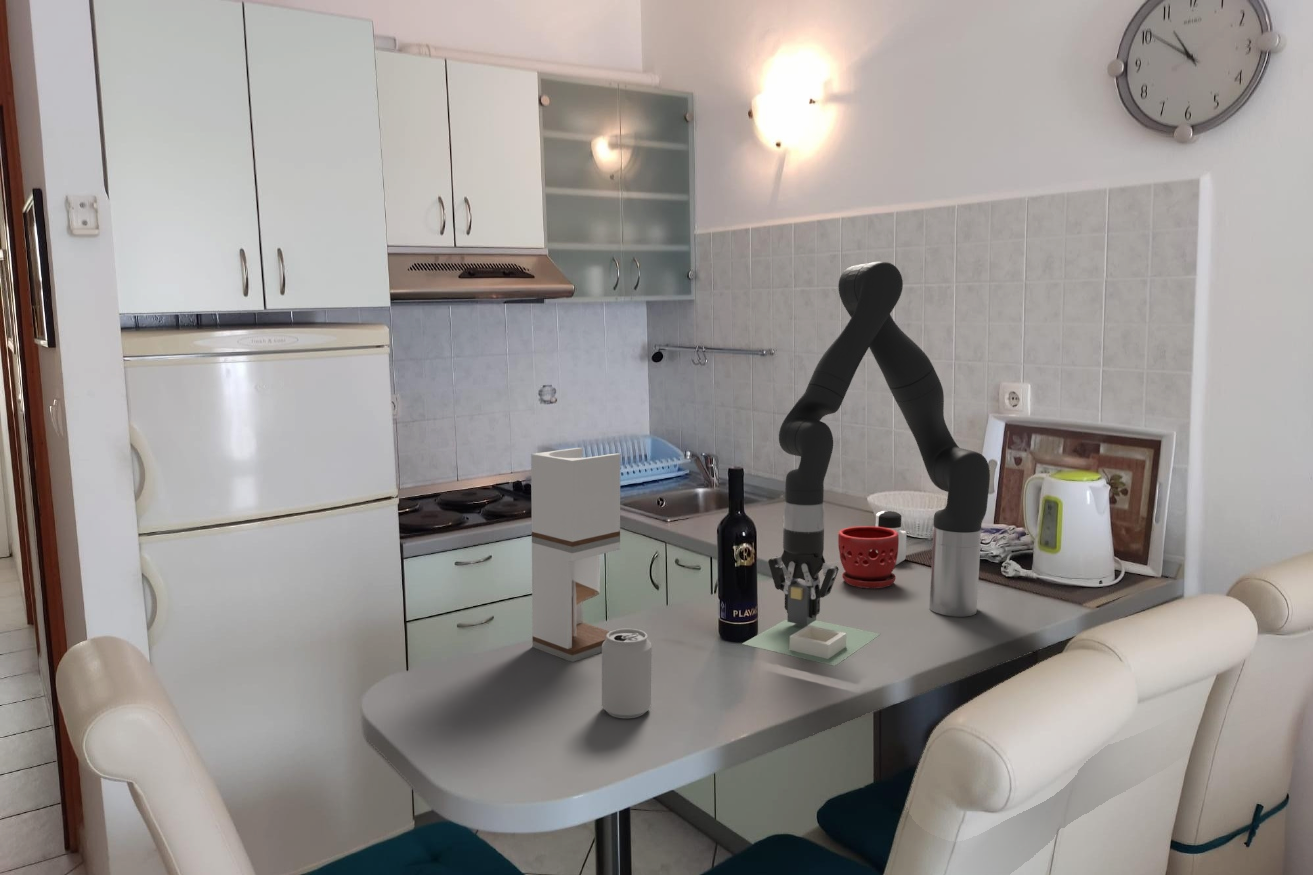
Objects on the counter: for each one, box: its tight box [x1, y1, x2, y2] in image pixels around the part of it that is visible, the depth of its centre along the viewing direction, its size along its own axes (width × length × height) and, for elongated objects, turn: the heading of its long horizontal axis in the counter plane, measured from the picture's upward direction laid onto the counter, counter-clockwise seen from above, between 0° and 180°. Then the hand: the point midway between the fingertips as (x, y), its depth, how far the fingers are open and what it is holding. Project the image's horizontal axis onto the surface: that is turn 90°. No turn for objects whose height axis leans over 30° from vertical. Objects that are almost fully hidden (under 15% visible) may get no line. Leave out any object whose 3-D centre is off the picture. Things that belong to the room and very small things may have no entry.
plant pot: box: [837, 525, 899, 590], centre depth 215 cm, size 13×13×12 cm
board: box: [741, 618, 881, 667], centre depth 175 cm, size 20×18×4 cm
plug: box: [786, 580, 817, 626], centre depth 181 cm, size 5×4×7 cm
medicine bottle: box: [870, 510, 907, 566], centre depth 235 cm, size 7×7×12 cm
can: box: [601, 628, 653, 719], centre depth 145 cm, size 8×8×12 cm
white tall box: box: [530, 447, 622, 663], centre depth 171 cm, size 11×11×35 cm
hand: (801, 614), depth 181 cm, fingers closed on plug, 4 cm apart
